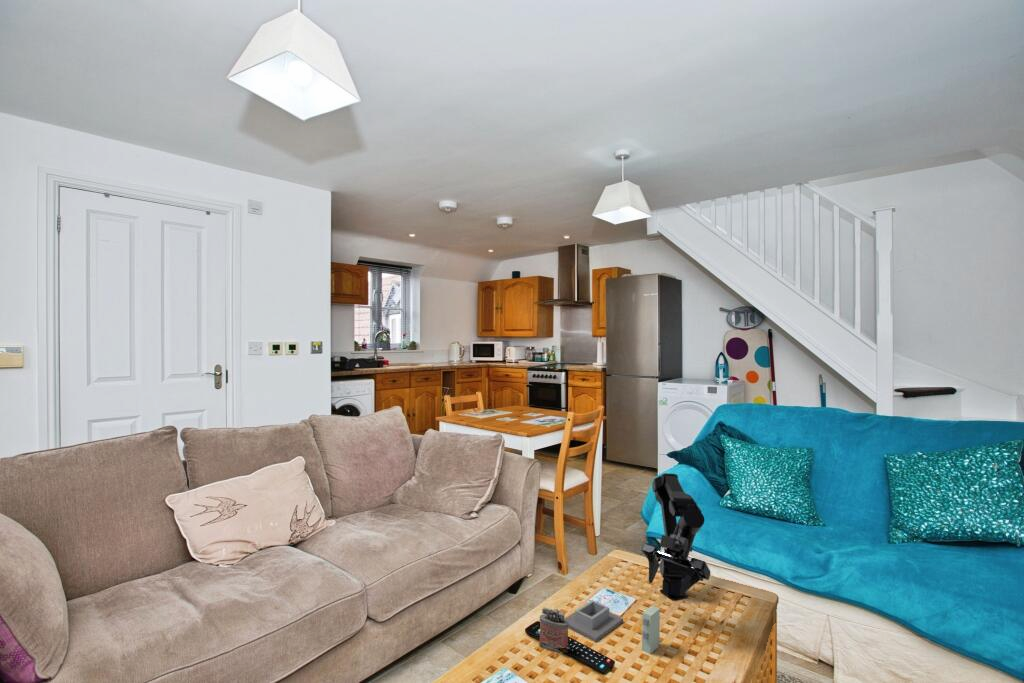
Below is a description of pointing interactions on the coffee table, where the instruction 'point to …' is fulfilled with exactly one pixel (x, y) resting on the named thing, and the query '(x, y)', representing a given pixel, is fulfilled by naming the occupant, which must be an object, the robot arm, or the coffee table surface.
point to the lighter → (553, 630)
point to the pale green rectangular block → (650, 629)
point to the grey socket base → (593, 621)
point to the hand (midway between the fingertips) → (664, 588)
